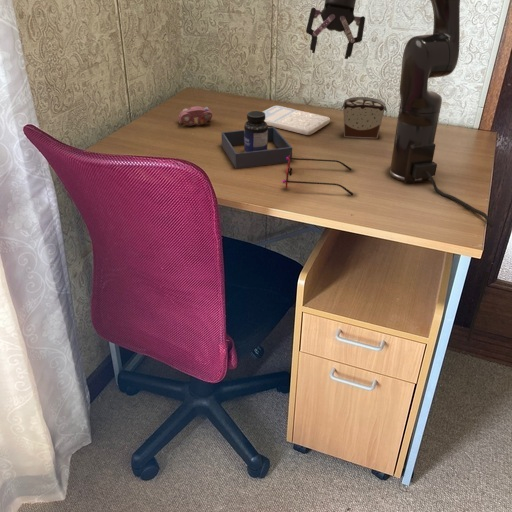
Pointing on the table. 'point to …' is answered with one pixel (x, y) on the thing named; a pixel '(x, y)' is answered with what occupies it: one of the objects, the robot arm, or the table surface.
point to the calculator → (294, 120)
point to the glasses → (312, 182)
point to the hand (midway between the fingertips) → (329, 55)
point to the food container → (363, 117)
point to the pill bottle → (255, 132)
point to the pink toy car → (195, 115)
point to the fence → (256, 156)
